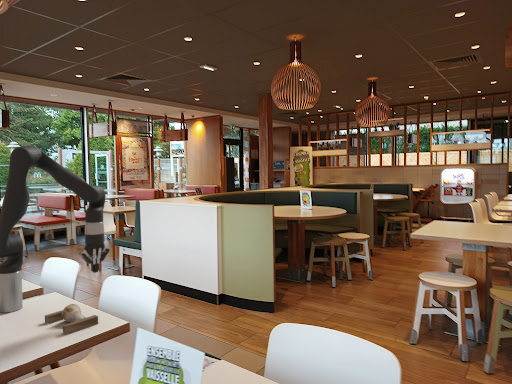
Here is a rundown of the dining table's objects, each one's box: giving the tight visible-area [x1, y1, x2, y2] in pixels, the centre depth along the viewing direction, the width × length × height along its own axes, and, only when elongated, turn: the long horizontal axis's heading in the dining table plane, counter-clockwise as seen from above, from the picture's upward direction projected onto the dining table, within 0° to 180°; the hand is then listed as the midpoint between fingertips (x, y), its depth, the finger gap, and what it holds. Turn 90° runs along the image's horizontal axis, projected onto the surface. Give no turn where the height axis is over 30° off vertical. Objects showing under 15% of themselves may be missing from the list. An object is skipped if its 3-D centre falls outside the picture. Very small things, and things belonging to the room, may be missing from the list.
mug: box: [61, 303, 87, 323], centre depth 151 cm, size 8×10×10 cm
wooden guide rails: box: [44, 309, 99, 335], centre depth 150 cm, size 18×13×3 cm
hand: (95, 272), depth 158 cm, fingers closed
